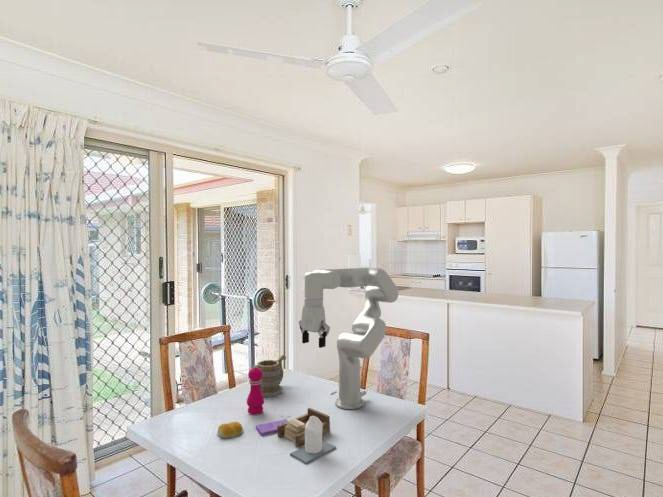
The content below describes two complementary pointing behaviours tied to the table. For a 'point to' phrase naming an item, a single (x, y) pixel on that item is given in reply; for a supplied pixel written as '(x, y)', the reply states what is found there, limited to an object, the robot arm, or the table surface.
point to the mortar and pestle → (271, 376)
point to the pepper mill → (255, 392)
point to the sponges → (269, 427)
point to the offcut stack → (294, 429)
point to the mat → (309, 457)
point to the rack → (304, 419)
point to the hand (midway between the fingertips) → (313, 344)
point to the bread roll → (229, 430)
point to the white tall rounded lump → (313, 435)
